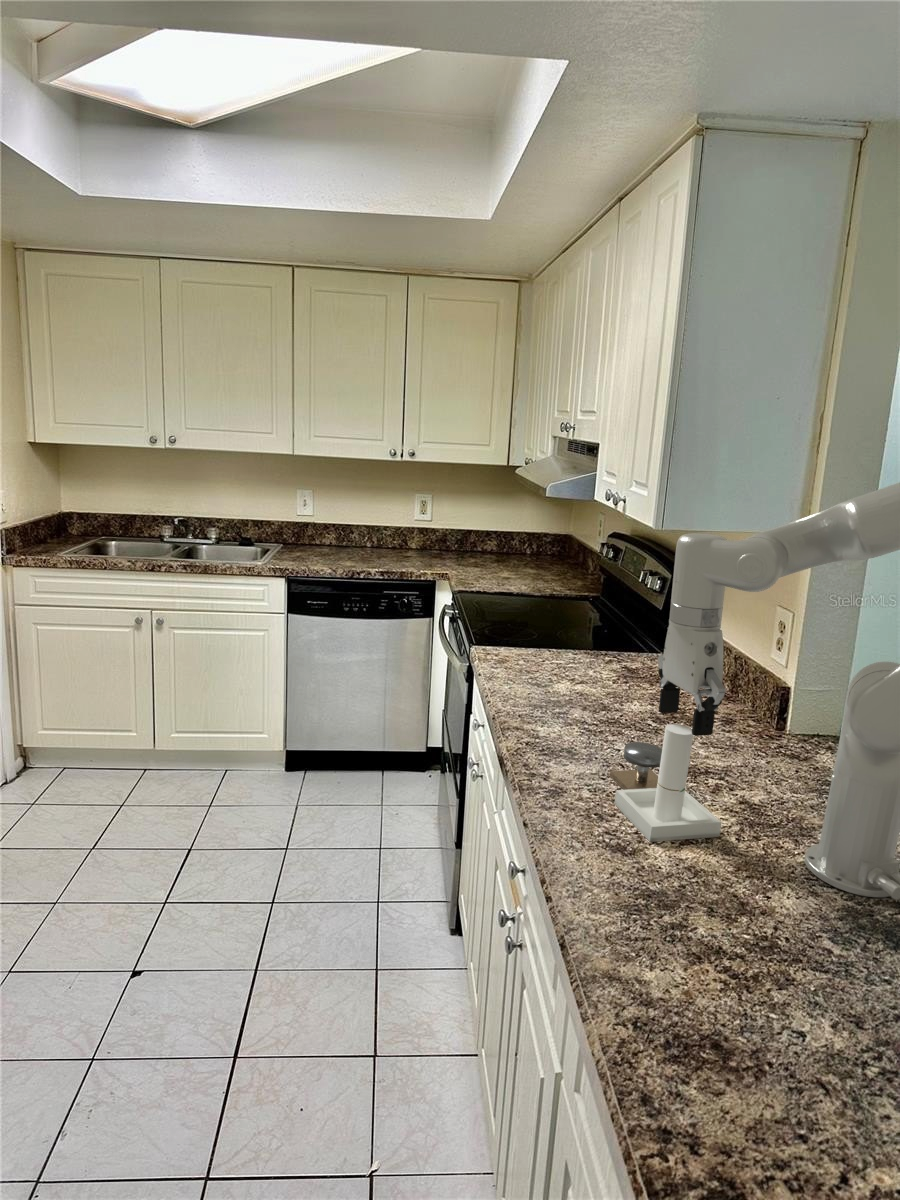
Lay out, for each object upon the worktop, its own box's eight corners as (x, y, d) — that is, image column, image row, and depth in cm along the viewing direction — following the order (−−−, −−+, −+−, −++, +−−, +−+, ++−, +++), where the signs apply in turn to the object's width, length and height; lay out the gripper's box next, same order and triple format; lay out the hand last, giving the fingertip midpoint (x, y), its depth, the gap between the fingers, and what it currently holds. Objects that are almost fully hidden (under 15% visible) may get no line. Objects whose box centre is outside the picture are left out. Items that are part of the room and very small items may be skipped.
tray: (719, 836, 120) (721, 822, 119) (649, 841, 117) (651, 826, 116) (678, 800, 131) (680, 786, 131) (614, 804, 128) (616, 790, 128)
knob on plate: (672, 794, 133) (677, 759, 132) (630, 797, 131) (635, 761, 130) (649, 774, 141) (654, 740, 139) (609, 776, 139) (614, 741, 137)
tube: (661, 824, 121) (674, 735, 118) (648, 811, 125) (660, 724, 122) (685, 822, 122) (699, 734, 119) (671, 809, 126) (684, 723, 123)
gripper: (752, 629, 109) (739, 742, 113) (686, 603, 126) (676, 703, 129) (705, 630, 108) (693, 746, 111) (645, 604, 124) (636, 705, 127)
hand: (684, 723), depth 120 cm, fingers open, 9 cm apart
